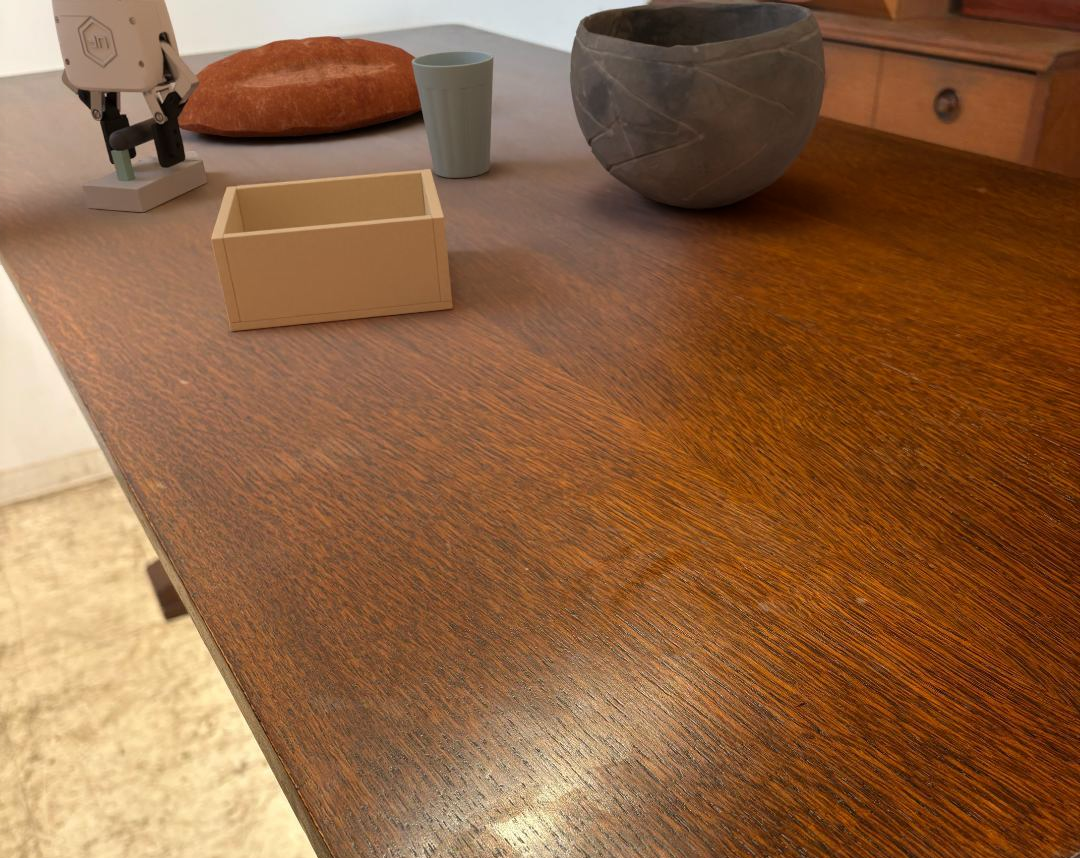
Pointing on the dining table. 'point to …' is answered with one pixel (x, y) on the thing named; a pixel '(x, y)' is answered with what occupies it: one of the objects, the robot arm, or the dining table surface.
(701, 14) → the bowl
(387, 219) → the open wooden box
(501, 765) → the dining table surface
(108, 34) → the robot arm
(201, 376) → the dining table surface
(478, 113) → the cup
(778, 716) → the dining table surface
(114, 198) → the handle on base
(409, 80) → the bread
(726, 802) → the dining table surface
